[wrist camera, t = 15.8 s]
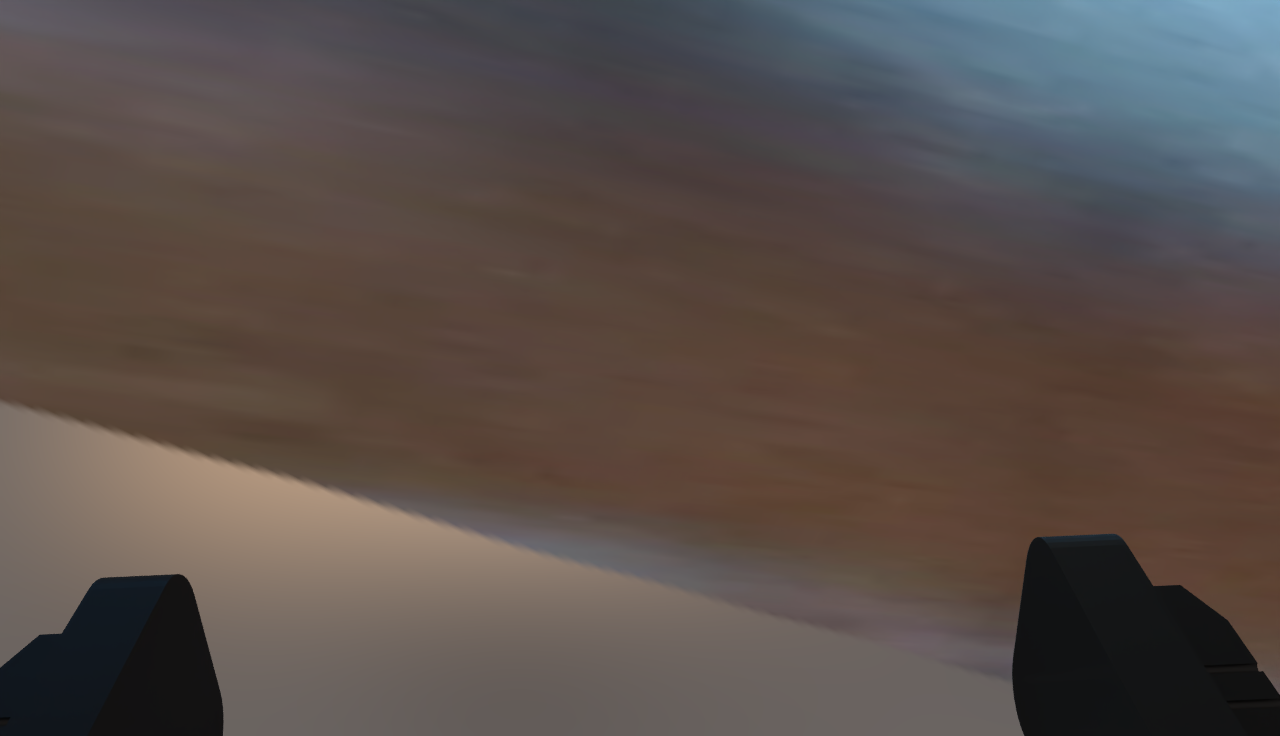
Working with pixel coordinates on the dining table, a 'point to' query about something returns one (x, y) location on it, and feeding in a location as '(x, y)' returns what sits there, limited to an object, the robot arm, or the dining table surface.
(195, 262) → the dining table surface
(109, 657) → the robot arm
